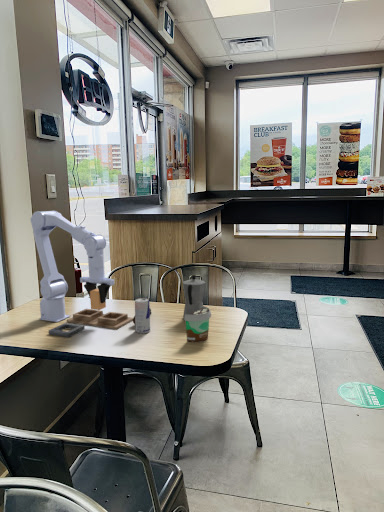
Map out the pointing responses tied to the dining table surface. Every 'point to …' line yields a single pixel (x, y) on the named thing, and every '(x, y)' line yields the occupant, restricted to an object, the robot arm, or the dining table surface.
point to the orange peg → (96, 300)
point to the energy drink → (142, 315)
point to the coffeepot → (193, 295)
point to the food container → (198, 325)
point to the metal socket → (68, 334)
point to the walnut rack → (100, 318)
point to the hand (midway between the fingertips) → (98, 301)
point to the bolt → (134, 318)
